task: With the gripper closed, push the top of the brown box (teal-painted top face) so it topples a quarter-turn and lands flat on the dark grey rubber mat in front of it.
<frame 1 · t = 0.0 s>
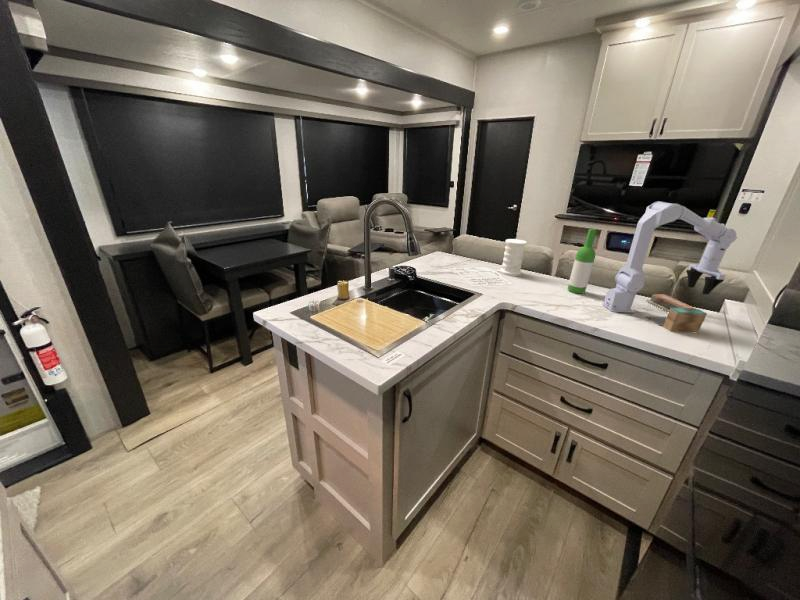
hand: (697, 290, 128), 10 cm above the counter, fingers open, 7 cm apart
decorative container: (510, 273, 176), on the counter
wine bottle: (575, 291, 151), on the counter
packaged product: (671, 311, 134), on the counter
brown box: (680, 329, 117), on the counter
rubber mat: (668, 322, 123), on the counter
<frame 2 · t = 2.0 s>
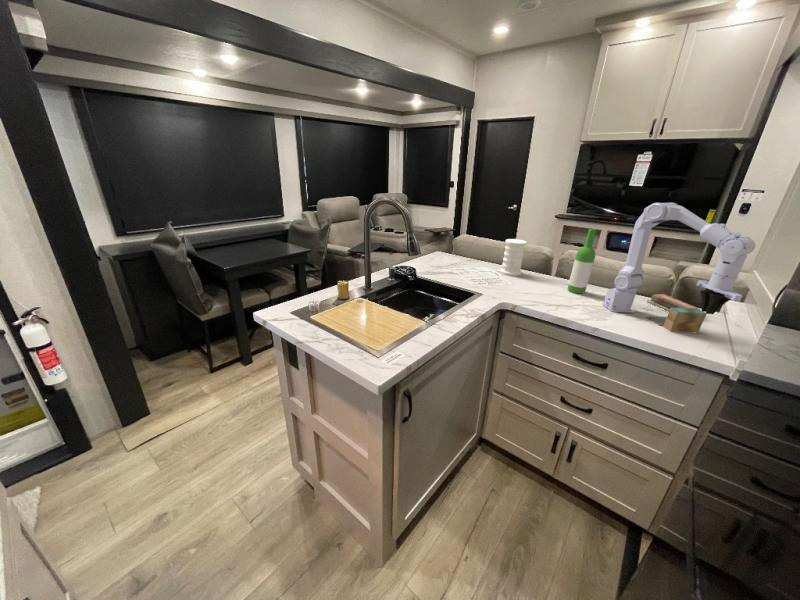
hand: (707, 312, 107), 10 cm above the counter, fingers closed
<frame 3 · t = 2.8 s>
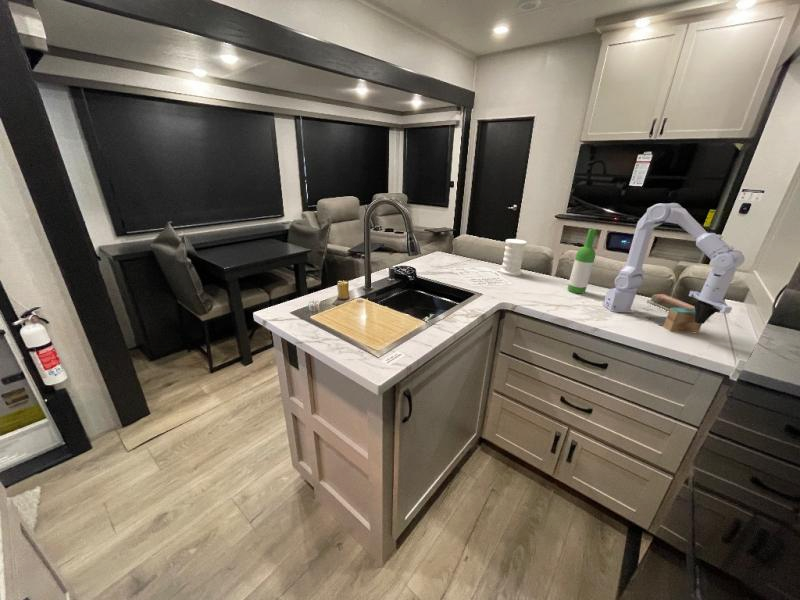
hand: (699, 322, 109), 6 cm above the counter, fingers closed
nothing on the counter moved.
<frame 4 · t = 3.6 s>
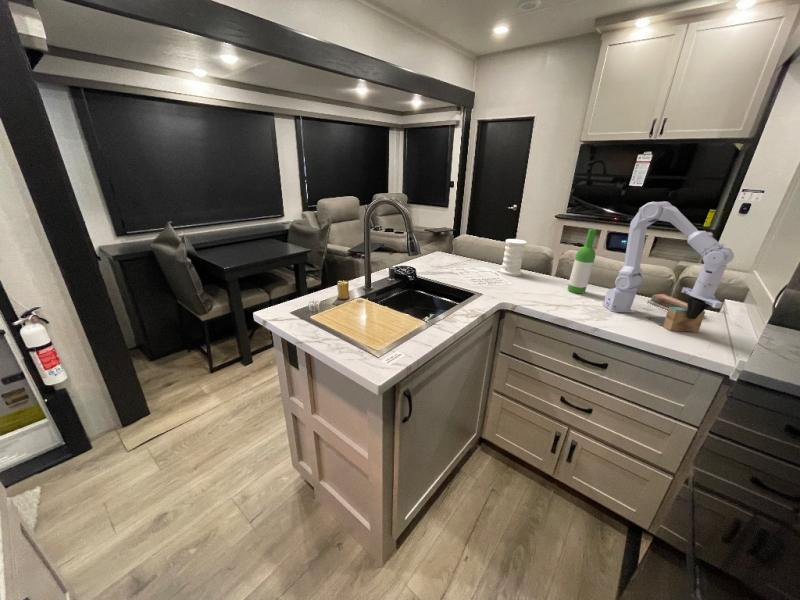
hand: (691, 318, 113), 6 cm above the counter, fingers closed
brown box: (680, 329, 117), on the counter, tilted 6°, touching gripper
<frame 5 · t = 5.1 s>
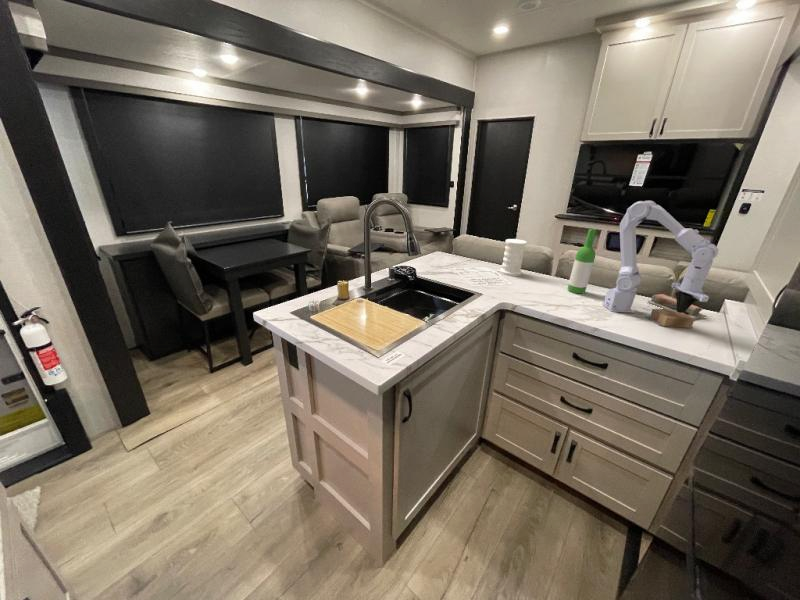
hand: (680, 311, 118), 6 cm above the counter, fingers closed
brown box: (679, 322, 118), point 2 cm above the counter, tilted 90°, touching rubber mat
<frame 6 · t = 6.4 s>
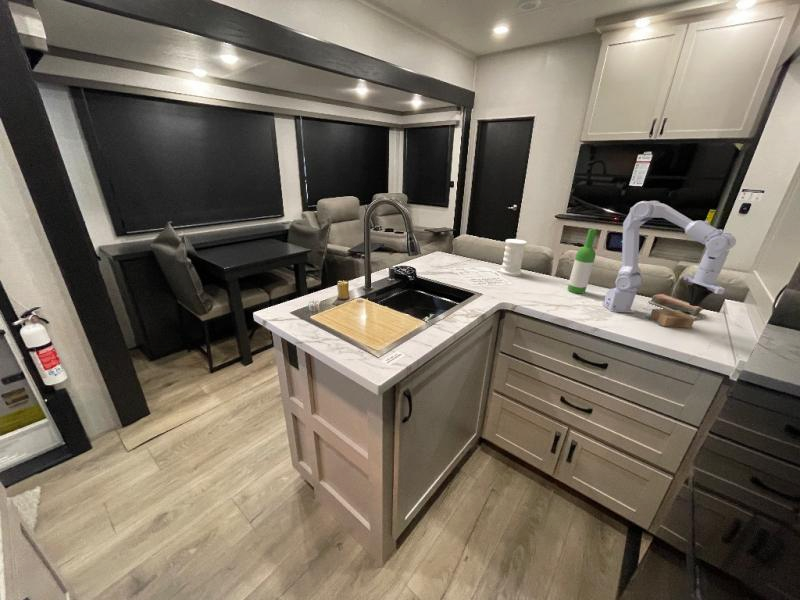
hand: (693, 305, 112), 10 cm above the counter, fingers closed
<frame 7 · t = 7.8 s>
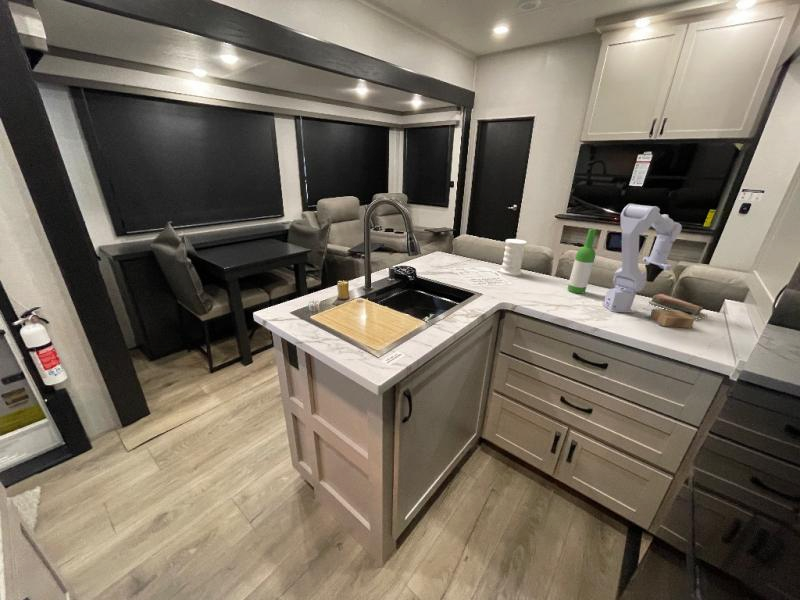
hand: (649, 281, 136), 10 cm above the counter, fingers closed
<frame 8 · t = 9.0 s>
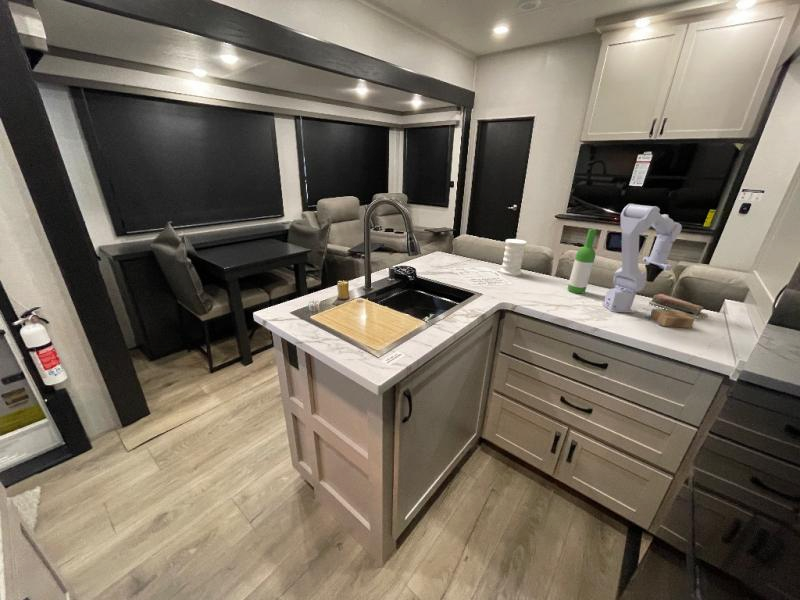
hand: (649, 281, 136), 10 cm above the counter, fingers closed
at the end: brown box tilted 90°; brown box inside the target area (2.7 cm from its centre), point 2.1 cm above the counter; the gripper is holding nothing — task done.
